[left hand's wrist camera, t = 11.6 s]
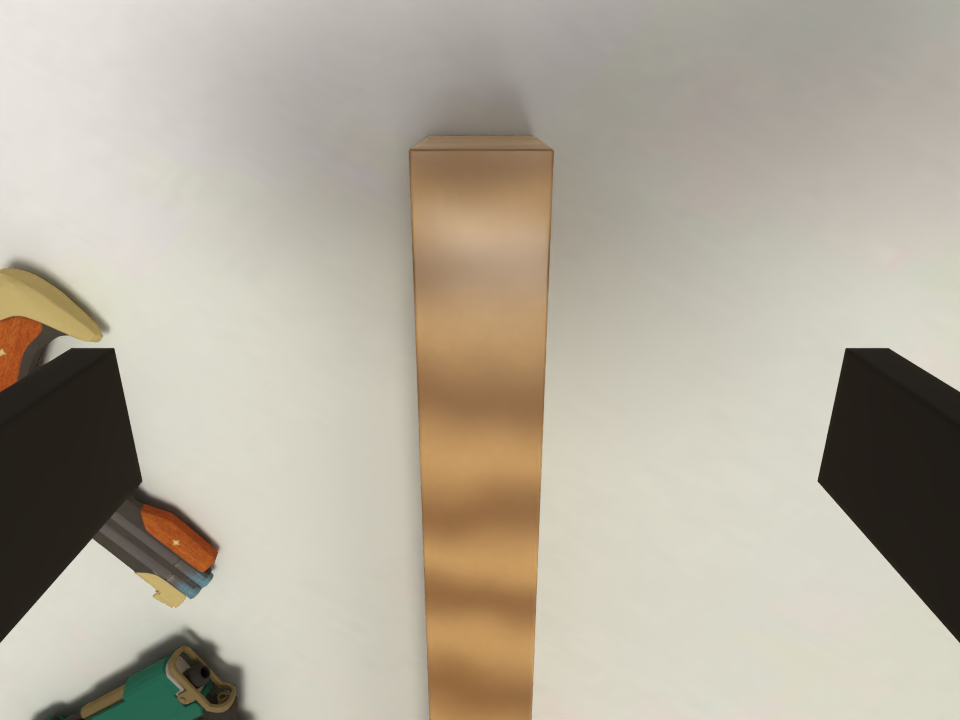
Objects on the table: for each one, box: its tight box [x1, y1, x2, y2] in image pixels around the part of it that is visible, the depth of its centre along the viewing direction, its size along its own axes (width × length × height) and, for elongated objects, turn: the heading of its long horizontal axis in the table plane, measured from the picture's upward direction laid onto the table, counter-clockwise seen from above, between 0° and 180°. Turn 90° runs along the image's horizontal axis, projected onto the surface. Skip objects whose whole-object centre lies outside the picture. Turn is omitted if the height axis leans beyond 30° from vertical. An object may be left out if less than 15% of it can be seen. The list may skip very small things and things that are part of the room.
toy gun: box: [0, 268, 218, 607], centre depth 36 cm, size 3×19×10 cm
